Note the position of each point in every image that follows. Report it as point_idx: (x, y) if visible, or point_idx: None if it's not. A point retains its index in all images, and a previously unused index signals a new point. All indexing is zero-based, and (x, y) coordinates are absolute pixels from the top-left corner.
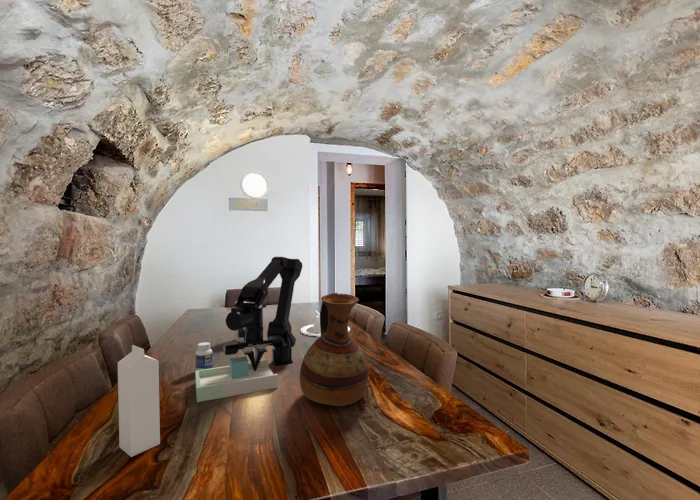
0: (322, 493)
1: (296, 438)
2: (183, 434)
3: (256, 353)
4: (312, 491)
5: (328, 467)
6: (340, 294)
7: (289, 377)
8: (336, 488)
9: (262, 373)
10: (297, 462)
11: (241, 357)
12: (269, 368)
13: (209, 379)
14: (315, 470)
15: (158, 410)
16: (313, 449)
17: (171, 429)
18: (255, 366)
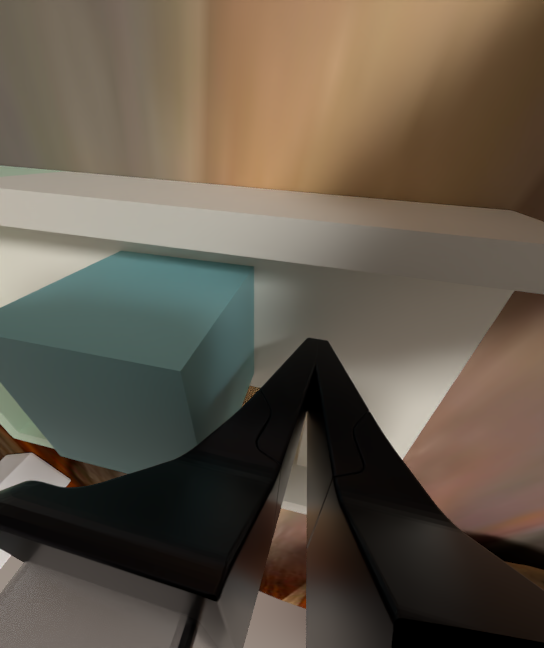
0: (275, 597)
1: (289, 569)
2: (100, 480)
3: (318, 569)
4: (267, 593)
5: (299, 596)
6: None
7: (529, 414)
8: (290, 602)
9: (361, 382)
10: (269, 580)
11: (120, 383)
12: (487, 326)
13: (7, 282)
14: (283, 591)
15: (6, 560)
16: (300, 584)
17: (67, 458)
18: (308, 407)
